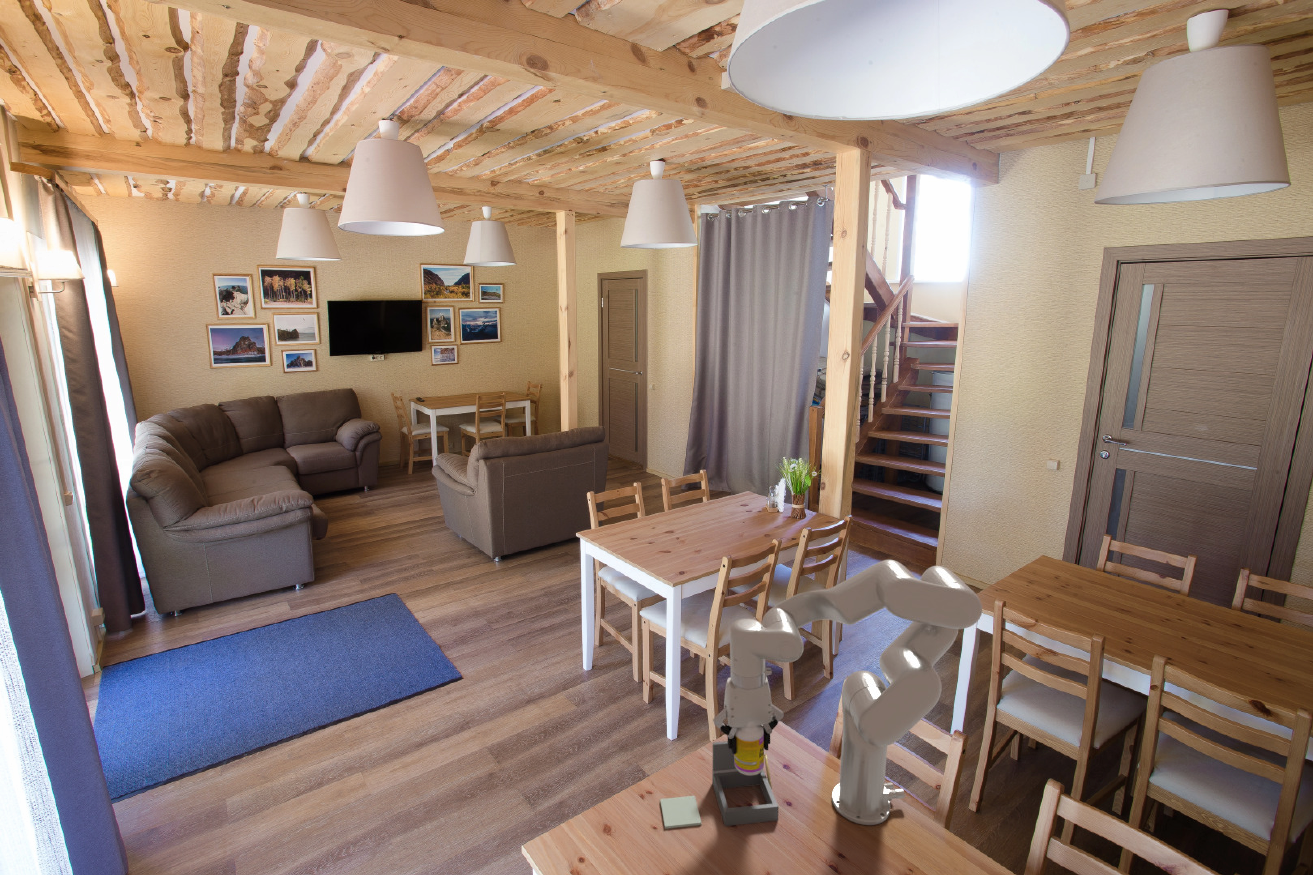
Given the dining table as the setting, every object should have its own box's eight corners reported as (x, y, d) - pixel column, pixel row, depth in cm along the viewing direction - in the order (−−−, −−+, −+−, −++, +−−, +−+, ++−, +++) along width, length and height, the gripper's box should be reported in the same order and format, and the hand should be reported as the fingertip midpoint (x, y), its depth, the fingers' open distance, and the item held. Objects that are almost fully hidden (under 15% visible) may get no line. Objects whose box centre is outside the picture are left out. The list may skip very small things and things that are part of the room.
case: (765, 778, 153) (766, 737, 151) (782, 819, 140) (783, 775, 138) (712, 783, 151) (712, 742, 149) (724, 825, 139) (725, 781, 137)
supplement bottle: (763, 778, 140) (762, 726, 137) (733, 775, 141) (732, 723, 139) (764, 757, 146) (764, 707, 144) (735, 754, 148) (734, 705, 145)
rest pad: (694, 797, 147) (694, 795, 147) (701, 824, 139) (701, 822, 139) (660, 801, 146) (660, 798, 146) (665, 828, 138) (665, 826, 138)
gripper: (780, 662, 144) (781, 733, 147) (705, 670, 142) (707, 741, 145) (791, 681, 137) (791, 754, 140) (712, 689, 135) (714, 764, 138)
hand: (748, 747), depth 143 cm, fingers closed on supplement bottle, 6 cm apart
